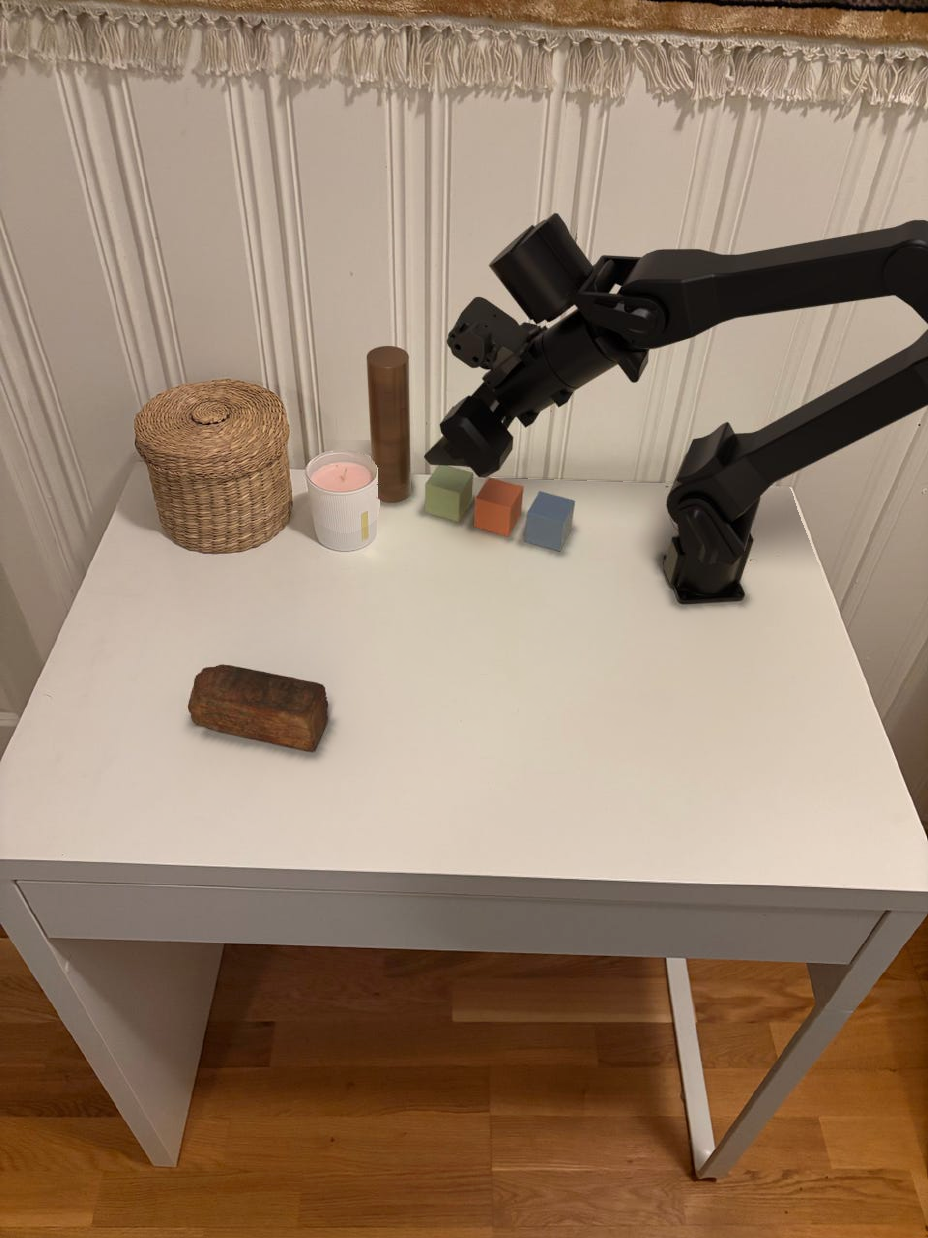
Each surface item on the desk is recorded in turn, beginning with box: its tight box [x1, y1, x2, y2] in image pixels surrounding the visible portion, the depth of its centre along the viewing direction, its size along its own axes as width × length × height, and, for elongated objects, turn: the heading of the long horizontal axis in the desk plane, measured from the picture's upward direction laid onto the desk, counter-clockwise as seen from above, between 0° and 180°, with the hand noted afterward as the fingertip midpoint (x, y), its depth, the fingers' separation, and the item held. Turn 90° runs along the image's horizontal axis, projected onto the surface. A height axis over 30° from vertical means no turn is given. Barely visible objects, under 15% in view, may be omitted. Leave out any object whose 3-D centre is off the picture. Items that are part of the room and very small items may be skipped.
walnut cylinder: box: [366, 345, 412, 504], centre depth 93 cm, size 4×4×16 cm
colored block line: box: [424, 465, 576, 552], centre depth 95 cm, size 15×4×4 cm, turn 67°
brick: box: [187, 664, 329, 752], centre depth 75 cm, size 11×4×5 cm, turn 76°
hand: (446, 434), depth 91 cm, fingers open, 9 cm apart
